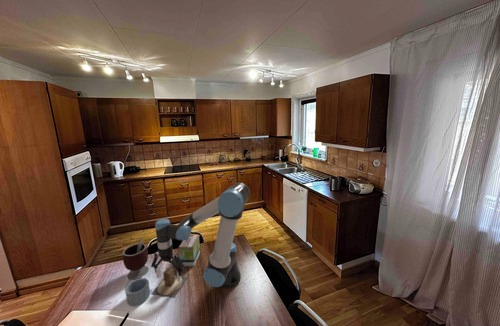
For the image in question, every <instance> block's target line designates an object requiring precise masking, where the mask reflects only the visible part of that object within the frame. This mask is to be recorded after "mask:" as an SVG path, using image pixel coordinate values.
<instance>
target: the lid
mask: <svg viewBox="0 0 500 326" xmlns="http://www.w3.org/2000/svg"><path fill="white" fill-rule="evenodd" d="M162 274H163V279H162V280H160V281H159V283H158V284H157V286H156V287H157V291H158V293H159V294H160V295H170V294H173V293H175V292H176V291H178V290H179V289H180V288H181V286H182V283H183V282H182V278H181V280H180V281H179V282H178V278H177V274H176V275H175V272H174V268H168V267H167V268H165V270H164V271H163V272H162ZM182 287H183V286H182ZM181 289H182V288H181ZM181 289H180V290H181Z"/></svg>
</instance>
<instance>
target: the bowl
mask: <svg viewBox="0 0 500 326" xmlns="http://www.w3.org/2000/svg"><path fill="white" fill-rule="evenodd" d="M124 292H125V298H126V302H127V304H128V305H129V307H137V306H140V305H142V304H144V303H145V302H146V301H147V300H148V299H149V298H150V295H151V287H150V282H149V280H148V278H145V277H142V278H140V279H136V280H131V281H130V282H129V283H128V285H126V287H125V290H124Z"/></svg>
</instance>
